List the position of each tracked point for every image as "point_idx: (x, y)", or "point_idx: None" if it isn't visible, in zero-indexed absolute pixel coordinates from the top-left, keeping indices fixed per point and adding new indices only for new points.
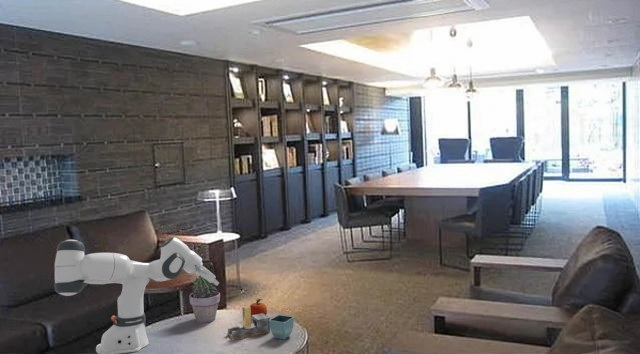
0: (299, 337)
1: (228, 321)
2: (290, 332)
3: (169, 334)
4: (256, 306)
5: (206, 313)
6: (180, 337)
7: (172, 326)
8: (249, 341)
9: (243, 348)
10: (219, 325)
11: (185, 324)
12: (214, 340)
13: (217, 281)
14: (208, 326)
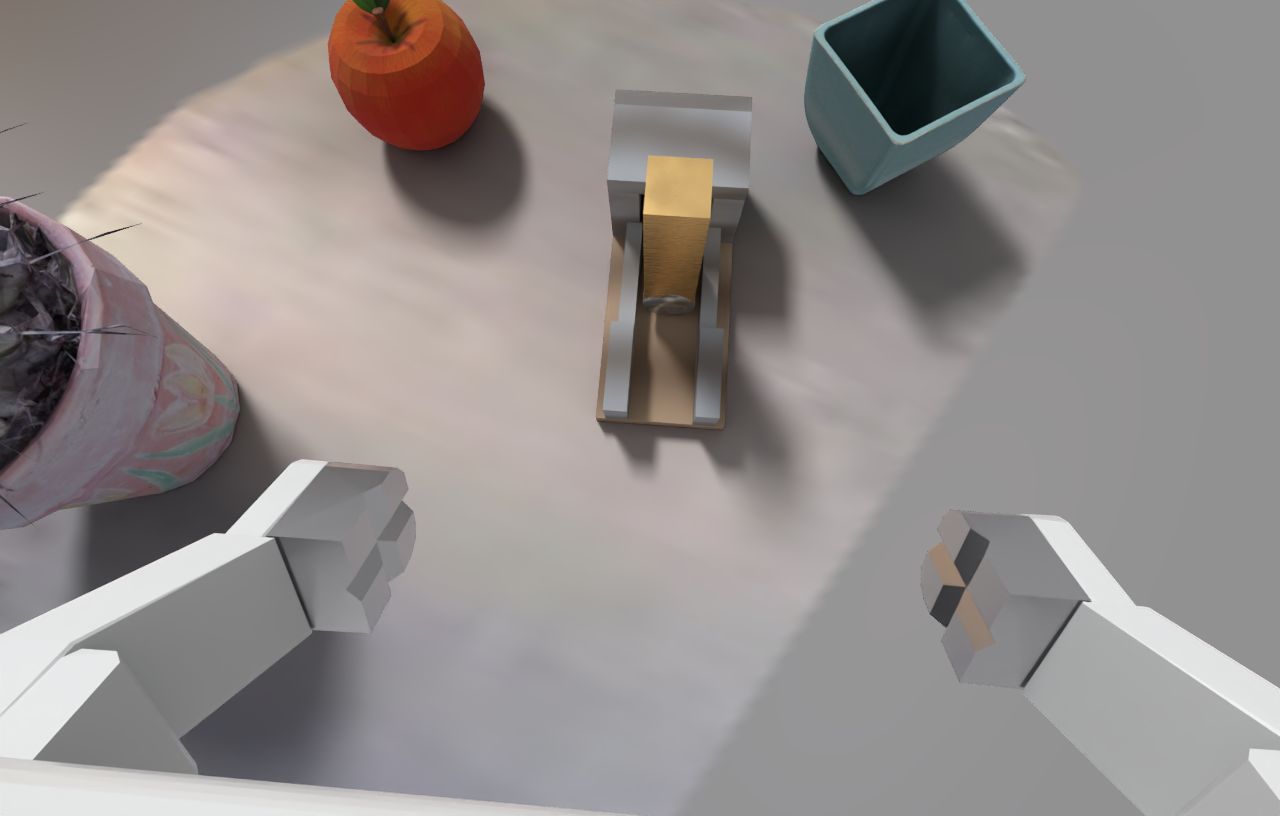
0: None
1: (334, 297)
2: (899, 91)
3: None
4: (430, 57)
5: (188, 427)
6: (410, 754)
7: None
8: (814, 352)
9: (918, 443)
10: (368, 386)
11: None
12: (647, 548)
13: (1099, 569)
14: None
